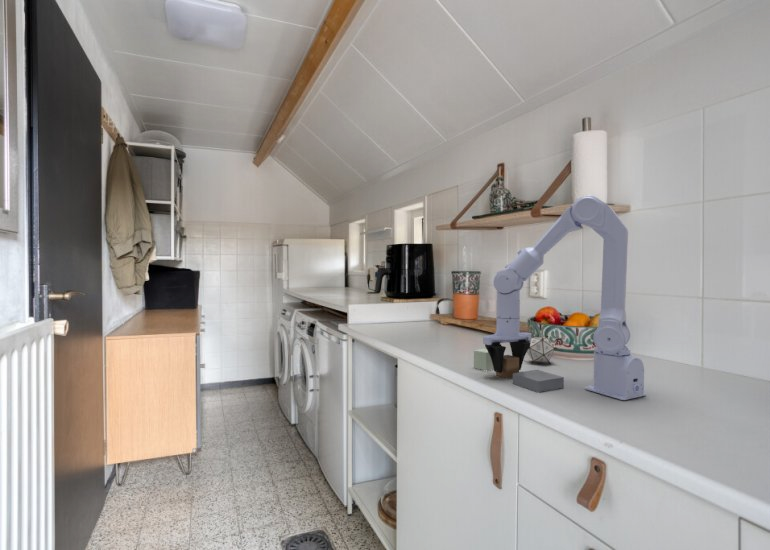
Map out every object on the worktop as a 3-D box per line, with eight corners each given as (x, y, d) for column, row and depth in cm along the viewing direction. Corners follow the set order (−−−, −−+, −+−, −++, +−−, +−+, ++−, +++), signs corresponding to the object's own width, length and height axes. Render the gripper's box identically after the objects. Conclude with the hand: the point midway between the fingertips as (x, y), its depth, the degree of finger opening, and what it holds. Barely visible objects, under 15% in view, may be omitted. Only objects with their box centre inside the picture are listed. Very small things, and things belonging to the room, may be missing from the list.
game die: (542, 374, 126) (558, 346, 128) (550, 370, 118) (566, 340, 120) (514, 357, 128) (530, 330, 130) (520, 353, 120) (537, 323, 122)
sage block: (494, 368, 117) (494, 350, 117) (486, 371, 114) (486, 352, 114) (482, 366, 120) (482, 348, 120) (473, 368, 117) (473, 350, 117)
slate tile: (563, 387, 99) (563, 377, 98) (538, 392, 95) (538, 381, 95) (536, 379, 106) (537, 369, 106) (512, 383, 102) (512, 373, 102)
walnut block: (519, 377, 108) (519, 357, 108) (507, 379, 106) (507, 359, 106) (507, 373, 112) (507, 354, 112) (496, 375, 110) (496, 356, 110)
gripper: (517, 314, 116) (517, 364, 116) (475, 317, 109) (474, 370, 109) (537, 317, 109) (537, 369, 110) (494, 320, 103) (493, 376, 103)
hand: (507, 370), depth 109 cm, fingers open, 6 cm apart
